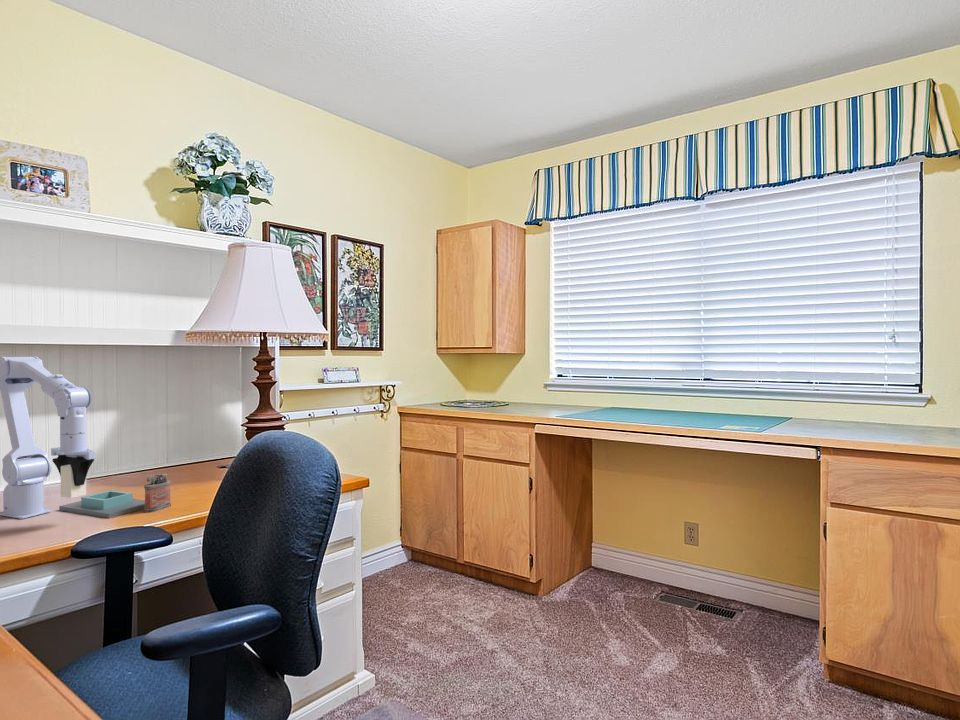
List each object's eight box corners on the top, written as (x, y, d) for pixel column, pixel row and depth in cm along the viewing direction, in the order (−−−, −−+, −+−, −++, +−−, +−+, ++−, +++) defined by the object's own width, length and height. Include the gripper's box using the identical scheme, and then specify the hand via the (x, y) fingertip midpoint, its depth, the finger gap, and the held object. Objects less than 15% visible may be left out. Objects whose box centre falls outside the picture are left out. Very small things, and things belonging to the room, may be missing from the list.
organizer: (59, 510, 170) (59, 497, 170) (105, 498, 184) (105, 486, 183) (109, 518, 163) (109, 504, 163) (153, 505, 176) (153, 493, 176)
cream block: (60, 496, 157) (60, 466, 157) (75, 493, 161) (75, 463, 160) (71, 498, 155) (71, 467, 155) (86, 494, 159) (86, 464, 159)
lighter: (165, 504, 177) (165, 471, 177) (173, 506, 176) (173, 472, 176) (141, 511, 170) (141, 476, 170) (149, 513, 169) (149, 477, 169)
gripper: (38, 433, 157) (39, 485, 157) (77, 436, 151) (77, 490, 152) (66, 430, 163) (66, 479, 163) (103, 433, 158) (103, 484, 158)
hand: (73, 484), depth 158 cm, fingers closed on cream block, 4 cm apart
